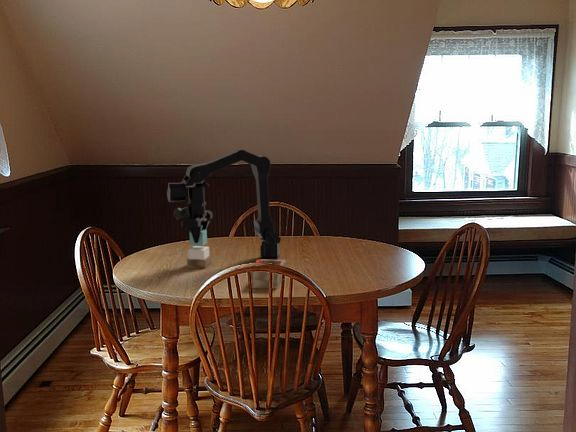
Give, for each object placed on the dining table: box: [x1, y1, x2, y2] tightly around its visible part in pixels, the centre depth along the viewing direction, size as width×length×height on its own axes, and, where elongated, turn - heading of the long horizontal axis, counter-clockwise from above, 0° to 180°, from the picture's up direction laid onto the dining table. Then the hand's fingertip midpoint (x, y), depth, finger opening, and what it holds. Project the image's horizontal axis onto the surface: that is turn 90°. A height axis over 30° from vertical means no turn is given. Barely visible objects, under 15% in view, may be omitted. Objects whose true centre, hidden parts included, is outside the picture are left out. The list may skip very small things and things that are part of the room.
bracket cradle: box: [251, 258, 287, 290], centre depth 202 cm, size 9×16×6 cm, turn 170°
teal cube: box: [188, 229, 208, 247], centre depth 222 cm, size 5×5×5 cm
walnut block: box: [186, 254, 212, 269], centre depth 224 cm, size 7×7×4 cm
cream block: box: [187, 245, 210, 260], centre depth 223 cm, size 6×6×4 cm
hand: (198, 241), depth 223 cm, fingers closed on teal cube, 5 cm apart
